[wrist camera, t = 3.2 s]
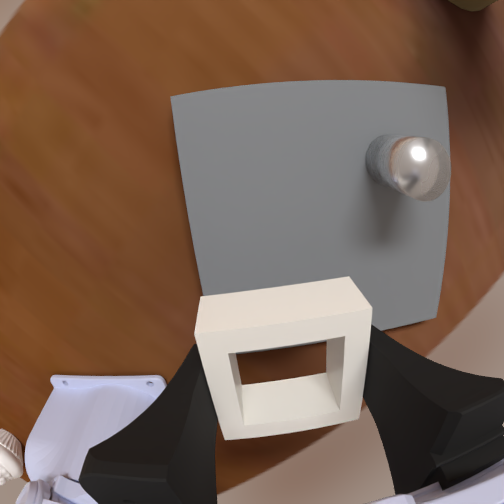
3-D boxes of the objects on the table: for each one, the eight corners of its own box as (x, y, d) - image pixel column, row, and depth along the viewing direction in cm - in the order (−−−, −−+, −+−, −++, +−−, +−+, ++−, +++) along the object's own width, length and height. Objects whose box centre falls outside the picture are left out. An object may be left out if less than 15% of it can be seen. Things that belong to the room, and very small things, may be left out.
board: (217, 343, 19) (216, 356, 18) (175, 98, 14) (170, 96, 13) (427, 308, 19) (435, 317, 18) (433, 88, 14) (445, 87, 13)
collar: (225, 400, 14) (224, 440, 12) (200, 296, 12) (194, 333, 10) (344, 382, 14) (358, 419, 12) (348, 276, 12) (372, 307, 10)
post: (366, 187, 15) (400, 203, 12) (363, 134, 14) (398, 137, 11) (410, 184, 15) (450, 199, 12) (409, 134, 14) (450, 138, 11)
